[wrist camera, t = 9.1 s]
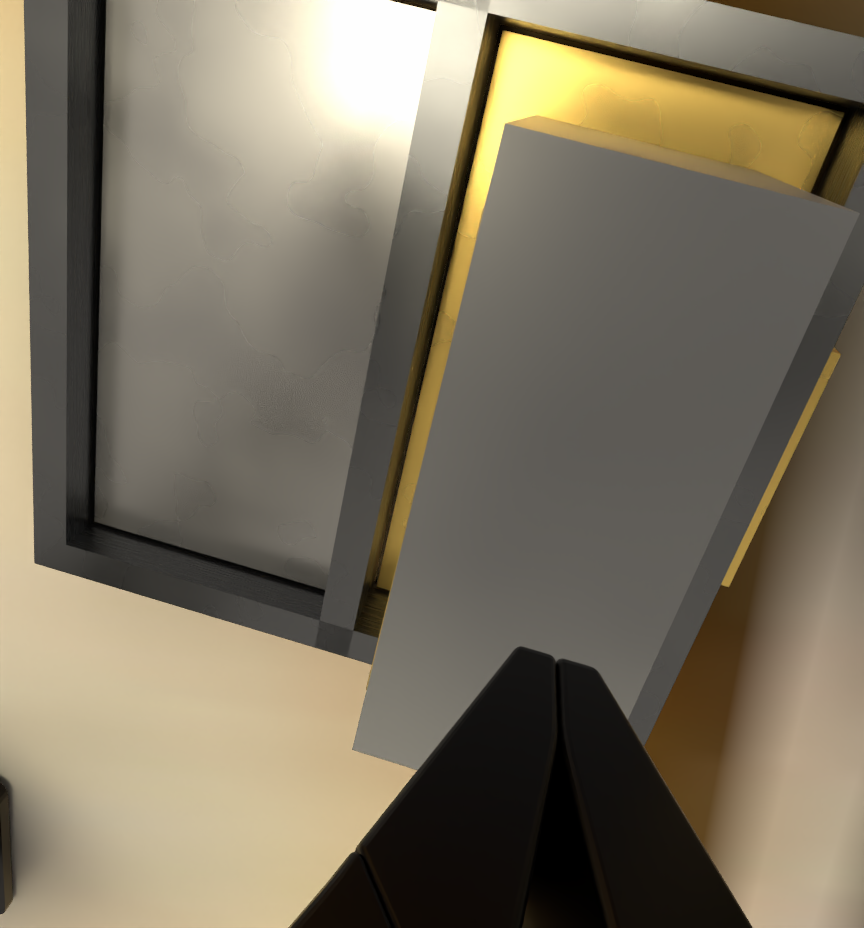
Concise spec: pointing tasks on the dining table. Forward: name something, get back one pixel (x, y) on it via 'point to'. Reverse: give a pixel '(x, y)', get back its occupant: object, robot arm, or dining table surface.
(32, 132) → the grey shallow square tray
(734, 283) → the panel
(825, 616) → the dining table surface
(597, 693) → the robot arm
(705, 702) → the dining table surface
